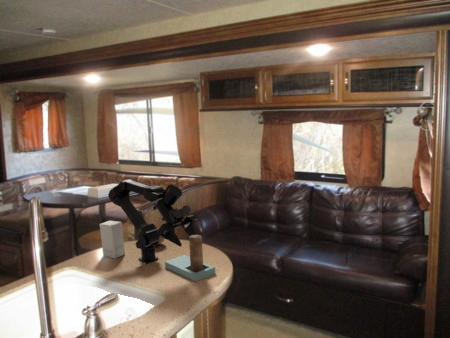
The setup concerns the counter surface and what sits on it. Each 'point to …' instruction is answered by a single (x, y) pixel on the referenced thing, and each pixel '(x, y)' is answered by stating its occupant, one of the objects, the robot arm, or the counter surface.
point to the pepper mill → (196, 253)
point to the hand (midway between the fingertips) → (188, 242)
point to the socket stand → (188, 268)
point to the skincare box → (112, 239)
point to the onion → (160, 237)
